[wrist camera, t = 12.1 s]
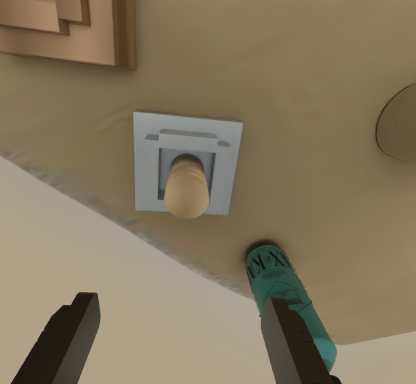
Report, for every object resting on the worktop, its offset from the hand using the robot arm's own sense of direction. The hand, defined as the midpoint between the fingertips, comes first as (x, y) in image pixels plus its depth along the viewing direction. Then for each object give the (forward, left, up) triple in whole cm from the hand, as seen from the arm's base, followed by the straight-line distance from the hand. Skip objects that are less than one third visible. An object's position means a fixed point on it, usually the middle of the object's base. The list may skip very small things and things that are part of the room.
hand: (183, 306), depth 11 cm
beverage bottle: (-13, +14, -21) cm, 28 cm away
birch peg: (0, 0, -19) cm, 19 cm away
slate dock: (0, 0, -21) cm, 21 cm away
